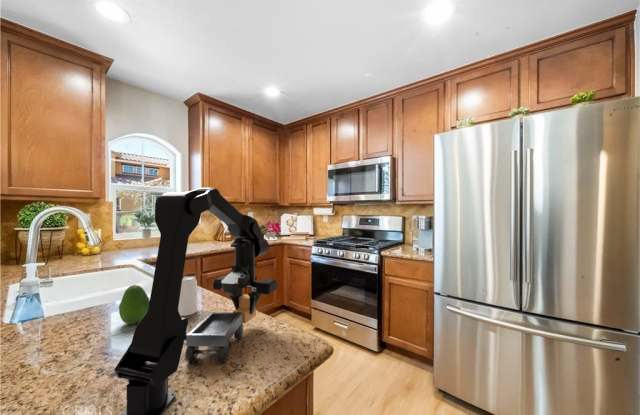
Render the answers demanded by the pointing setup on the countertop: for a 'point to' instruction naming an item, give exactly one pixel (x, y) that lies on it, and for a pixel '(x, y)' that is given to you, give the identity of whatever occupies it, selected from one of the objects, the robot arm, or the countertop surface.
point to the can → (188, 296)
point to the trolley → (214, 335)
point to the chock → (245, 308)
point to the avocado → (133, 305)
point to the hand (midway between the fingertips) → (245, 313)
